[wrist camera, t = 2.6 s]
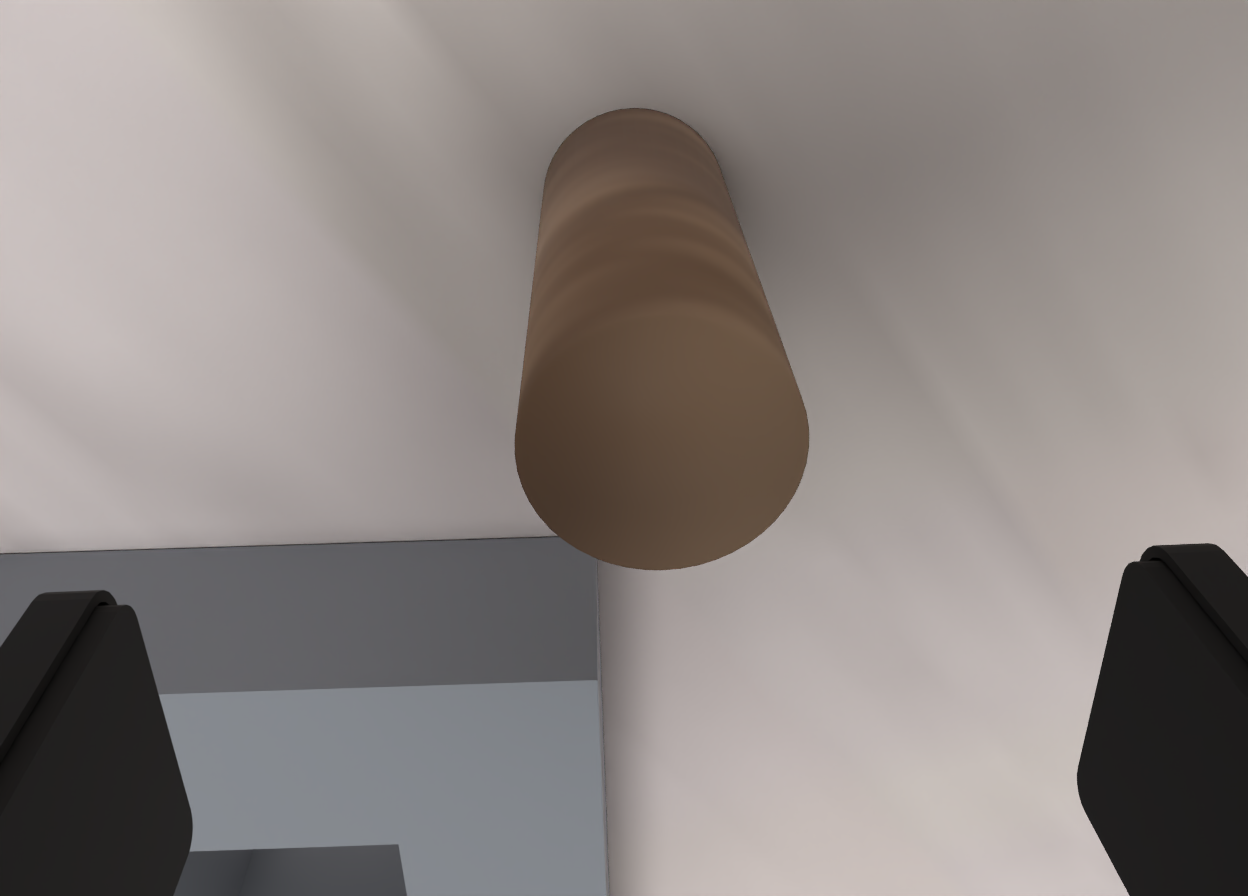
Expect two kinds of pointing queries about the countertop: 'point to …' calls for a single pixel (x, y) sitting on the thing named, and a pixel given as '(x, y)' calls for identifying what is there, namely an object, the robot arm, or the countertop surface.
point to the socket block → (370, 710)
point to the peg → (652, 356)
